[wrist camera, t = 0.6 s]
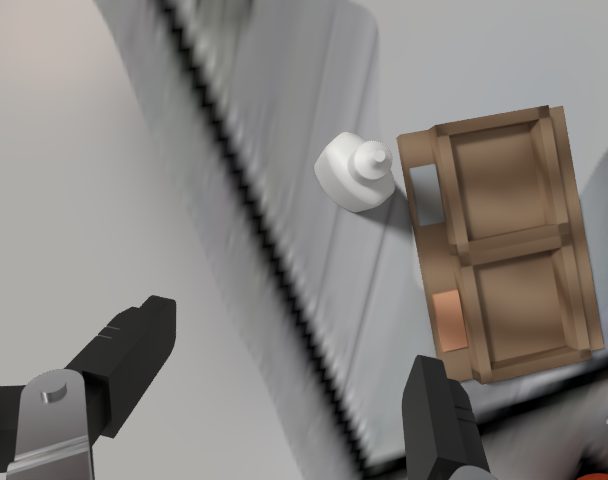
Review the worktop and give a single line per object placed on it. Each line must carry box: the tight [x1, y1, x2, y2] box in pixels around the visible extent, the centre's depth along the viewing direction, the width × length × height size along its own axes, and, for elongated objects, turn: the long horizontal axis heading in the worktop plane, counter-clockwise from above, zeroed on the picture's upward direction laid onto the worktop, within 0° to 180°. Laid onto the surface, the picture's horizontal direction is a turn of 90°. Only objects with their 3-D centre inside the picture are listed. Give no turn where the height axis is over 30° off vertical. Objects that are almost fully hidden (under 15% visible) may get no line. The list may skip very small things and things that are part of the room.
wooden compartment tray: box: [397, 105, 604, 385], centre depth 35 cm, size 22×15×2 cm
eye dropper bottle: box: [314, 132, 395, 212], centre depth 29 cm, size 4×6×12 cm
